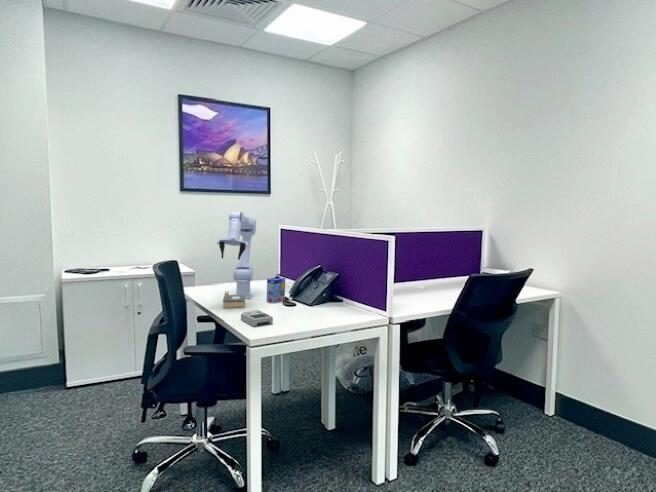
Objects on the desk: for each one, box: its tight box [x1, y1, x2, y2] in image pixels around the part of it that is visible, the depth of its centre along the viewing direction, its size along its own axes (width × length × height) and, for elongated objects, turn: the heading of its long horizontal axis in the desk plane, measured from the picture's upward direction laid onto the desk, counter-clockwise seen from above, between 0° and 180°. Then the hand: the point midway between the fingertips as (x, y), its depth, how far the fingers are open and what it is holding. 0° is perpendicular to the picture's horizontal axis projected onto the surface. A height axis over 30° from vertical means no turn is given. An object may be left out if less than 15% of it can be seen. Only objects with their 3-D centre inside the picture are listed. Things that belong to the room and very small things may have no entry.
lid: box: [222, 290, 246, 302], centre depth 221 cm, size 12×10×3 cm
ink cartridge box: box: [266, 273, 286, 304], centre depth 231 cm, size 10×6×14 cm, turn 152°
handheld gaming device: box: [240, 309, 274, 327], centre depth 192 cm, size 9×15×4 cm, turn 34°
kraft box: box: [222, 300, 246, 309], centre depth 222 cm, size 12×10×3 cm
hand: (230, 258), depth 210 cm, fingers open, 7 cm apart
